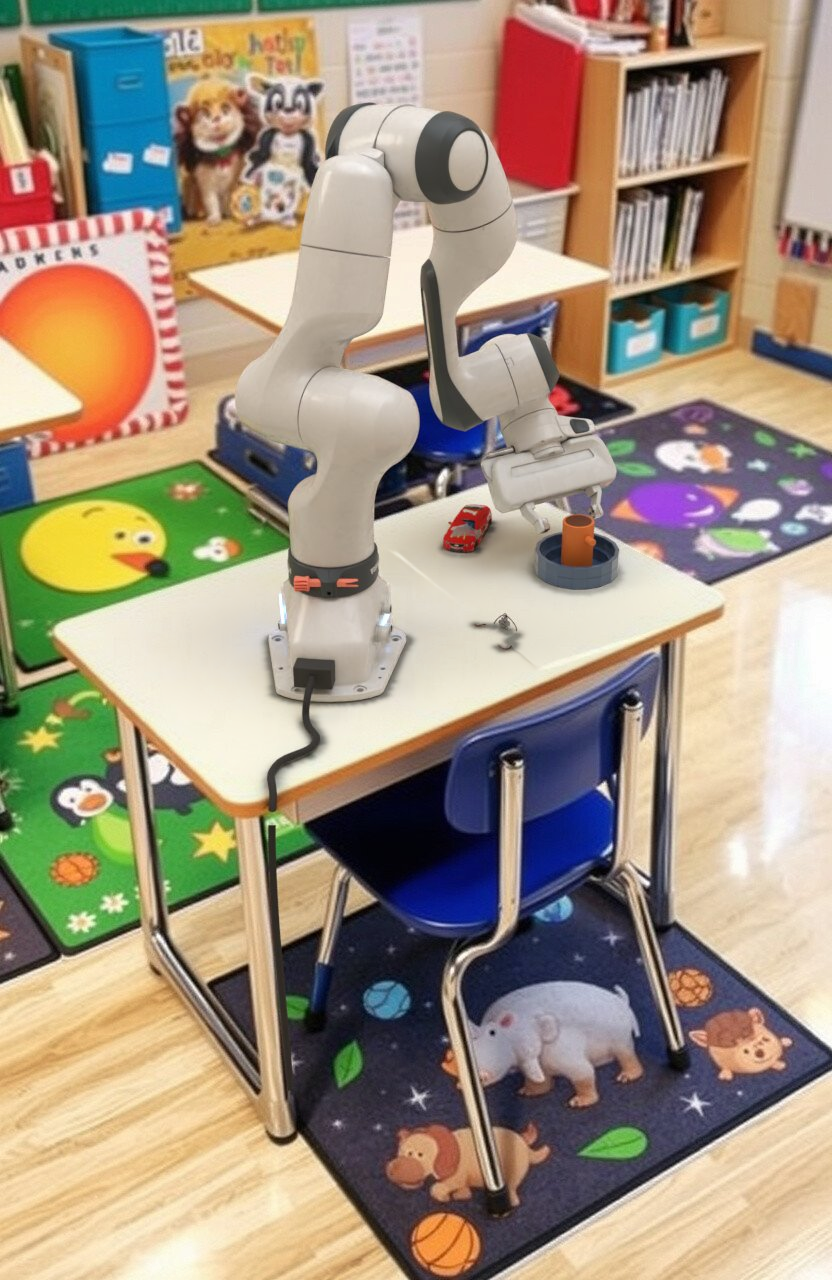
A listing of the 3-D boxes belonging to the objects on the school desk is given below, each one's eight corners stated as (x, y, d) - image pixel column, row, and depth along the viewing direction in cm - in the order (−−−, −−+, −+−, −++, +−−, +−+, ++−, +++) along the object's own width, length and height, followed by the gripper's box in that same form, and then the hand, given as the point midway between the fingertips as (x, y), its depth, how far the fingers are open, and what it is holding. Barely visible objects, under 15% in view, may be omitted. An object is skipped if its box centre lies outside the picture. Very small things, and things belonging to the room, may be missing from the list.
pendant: (528, 641, 190) (529, 624, 189) (503, 651, 188) (503, 634, 187) (492, 618, 196) (492, 601, 194) (467, 627, 194) (467, 610, 192)
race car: (472, 559, 212) (472, 535, 210) (438, 554, 213) (438, 530, 211) (497, 522, 222) (497, 499, 220) (464, 518, 224) (464, 495, 222)
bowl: (622, 592, 202) (623, 568, 200) (536, 593, 202) (537, 568, 200) (614, 554, 212) (615, 530, 210) (532, 554, 213) (533, 531, 210)
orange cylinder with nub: (554, 567, 208) (556, 518, 203) (580, 559, 209) (582, 511, 205) (578, 583, 203) (580, 534, 199) (604, 576, 205) (606, 526, 201)
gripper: (484, 445, 200) (520, 532, 198) (601, 417, 209) (636, 501, 206) (468, 463, 206) (502, 548, 203) (582, 436, 214) (617, 517, 212)
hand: (571, 524), depth 205 cm, fingers open, 8 cm apart
